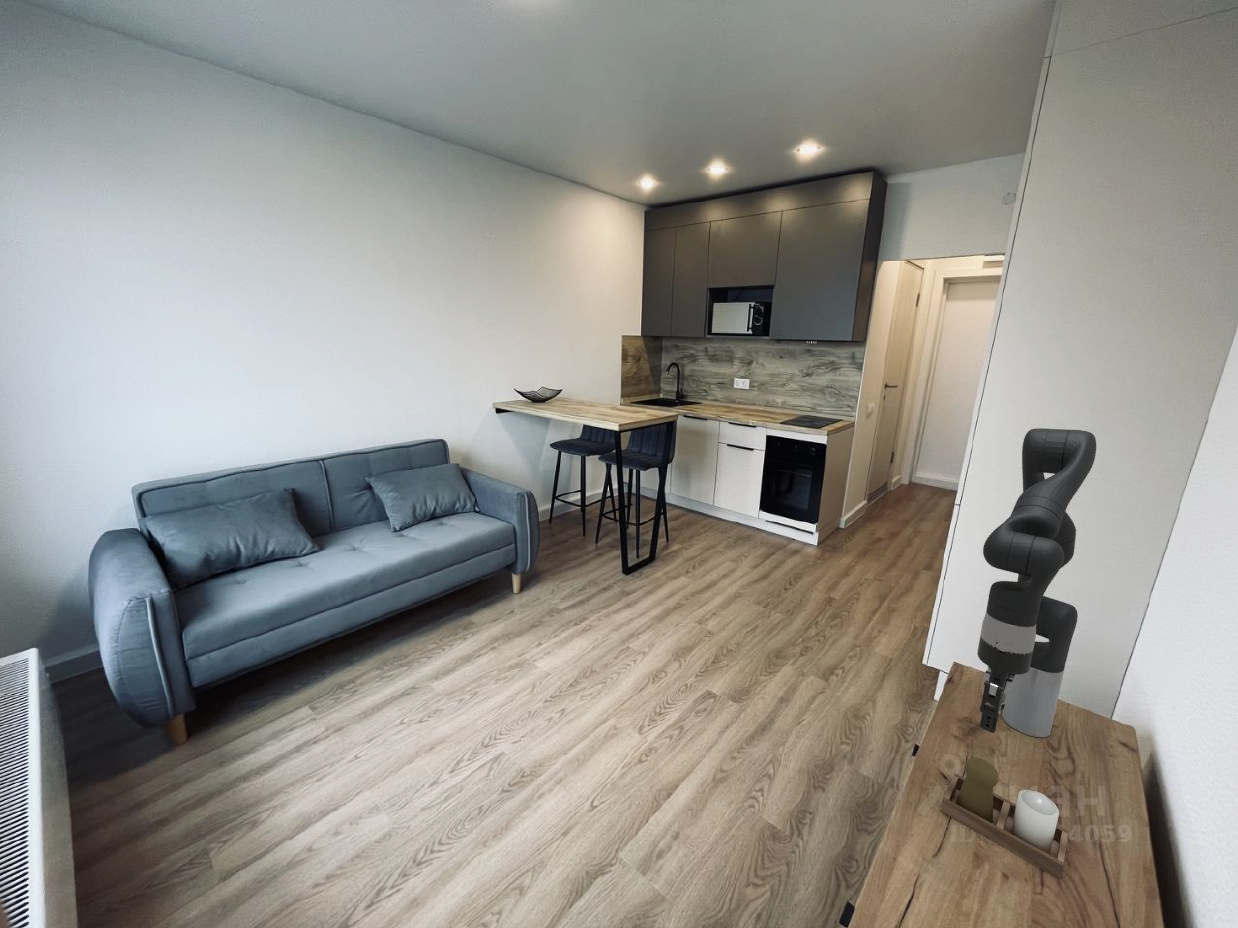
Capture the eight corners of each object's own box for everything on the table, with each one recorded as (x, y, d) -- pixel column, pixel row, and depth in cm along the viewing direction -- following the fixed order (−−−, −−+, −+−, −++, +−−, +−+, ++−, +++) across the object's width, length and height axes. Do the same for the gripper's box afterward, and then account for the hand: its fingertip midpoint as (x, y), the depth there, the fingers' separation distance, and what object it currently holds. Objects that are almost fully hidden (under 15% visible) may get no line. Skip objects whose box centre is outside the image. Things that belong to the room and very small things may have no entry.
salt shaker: (1013, 822, 93) (1022, 777, 91) (1051, 842, 89) (1062, 796, 87) (1008, 841, 89) (1017, 795, 87) (1048, 863, 85) (1059, 815, 83)
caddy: (952, 787, 102) (954, 772, 101) (1064, 846, 89) (1068, 830, 89) (940, 814, 96) (942, 799, 95) (1059, 882, 83) (1063, 865, 82)
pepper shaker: (999, 829, 92) (1009, 780, 89) (963, 822, 93) (972, 774, 91) (983, 801, 98) (992, 754, 95) (949, 795, 99) (958, 749, 97)
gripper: (989, 617, 95) (976, 690, 98) (972, 646, 85) (958, 726, 89) (1039, 632, 90) (1024, 709, 93) (1027, 665, 80) (1010, 749, 84)
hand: (992, 717), depth 91 cm, fingers open, 8 cm apart
